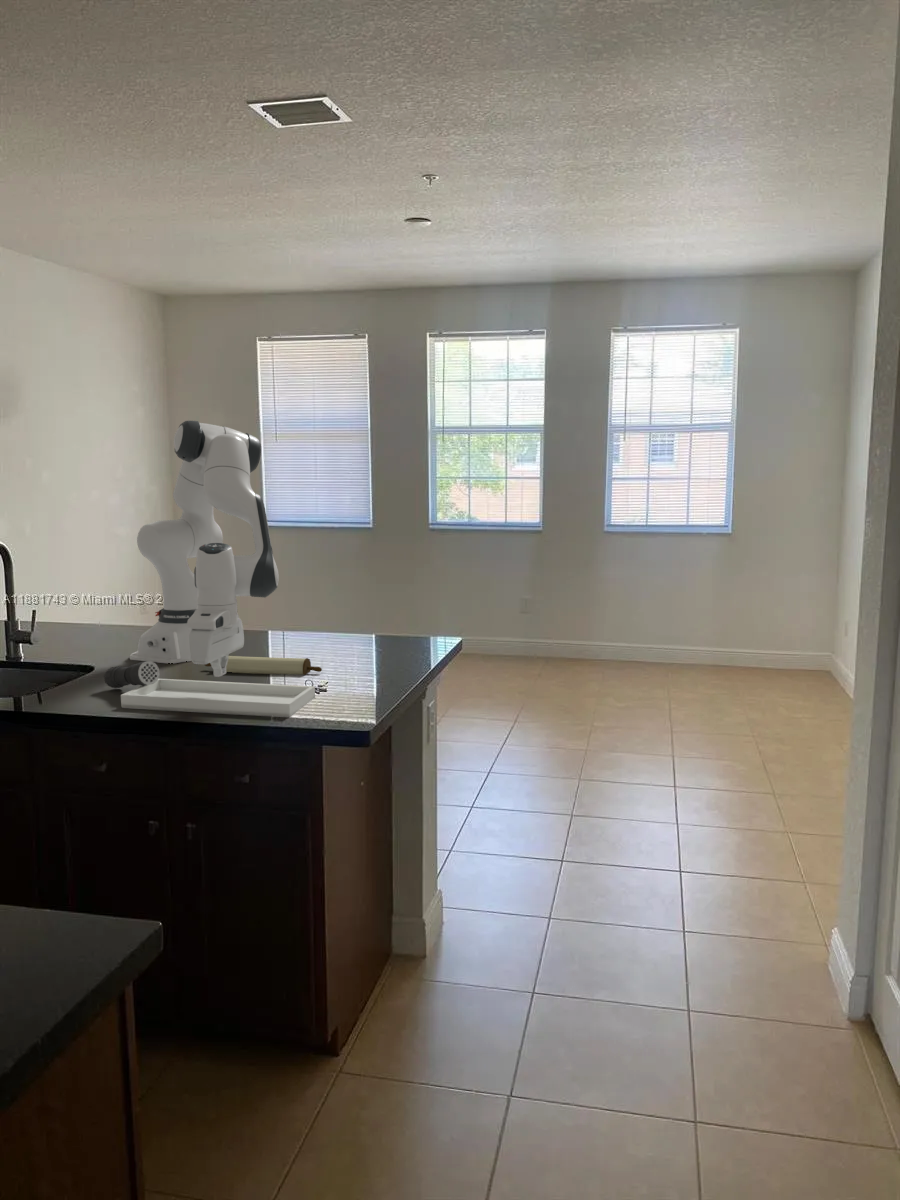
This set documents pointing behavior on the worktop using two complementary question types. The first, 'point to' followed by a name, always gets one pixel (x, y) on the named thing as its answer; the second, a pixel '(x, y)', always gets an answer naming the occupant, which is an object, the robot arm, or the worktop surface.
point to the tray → (219, 697)
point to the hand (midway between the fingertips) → (220, 675)
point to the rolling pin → (269, 665)
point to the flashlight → (132, 675)
